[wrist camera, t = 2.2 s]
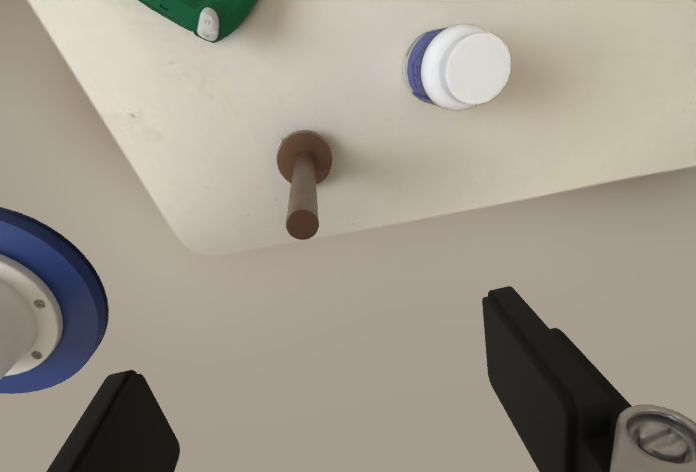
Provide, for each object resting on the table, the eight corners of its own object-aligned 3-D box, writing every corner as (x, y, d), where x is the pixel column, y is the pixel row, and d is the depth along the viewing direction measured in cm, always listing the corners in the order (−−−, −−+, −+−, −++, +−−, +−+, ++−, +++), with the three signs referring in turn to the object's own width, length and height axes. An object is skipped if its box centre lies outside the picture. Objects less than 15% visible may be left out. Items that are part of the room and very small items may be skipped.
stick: (286, 188, 35) (271, 273, 21) (271, 136, 33) (244, 193, 19) (336, 176, 35) (355, 254, 21) (324, 124, 33) (336, 172, 19)
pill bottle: (407, 109, 33) (440, 125, 25) (396, 39, 31) (427, 32, 23) (471, 93, 33) (524, 104, 25) (464, 22, 31) (520, 8, 23)
